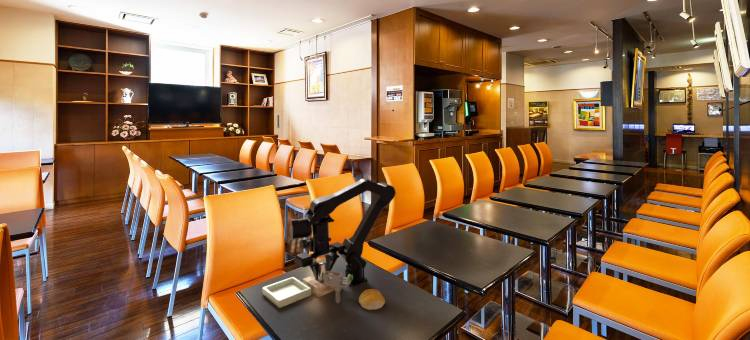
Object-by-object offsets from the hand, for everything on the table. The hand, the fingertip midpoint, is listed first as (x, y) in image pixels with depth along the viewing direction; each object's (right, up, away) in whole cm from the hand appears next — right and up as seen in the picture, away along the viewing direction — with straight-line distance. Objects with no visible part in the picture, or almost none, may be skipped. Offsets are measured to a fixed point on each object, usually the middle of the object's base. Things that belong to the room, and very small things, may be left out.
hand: (322, 276), depth 128 cm
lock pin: (0, -4, +1) cm, 4 cm away
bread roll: (+18, -6, -10) cm, 21 cm away
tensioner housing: (0, -4, +1) cm, 4 cm away
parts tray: (-12, -5, -4) cm, 13 cm away
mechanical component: (+7, -6, -9) cm, 13 cm away
